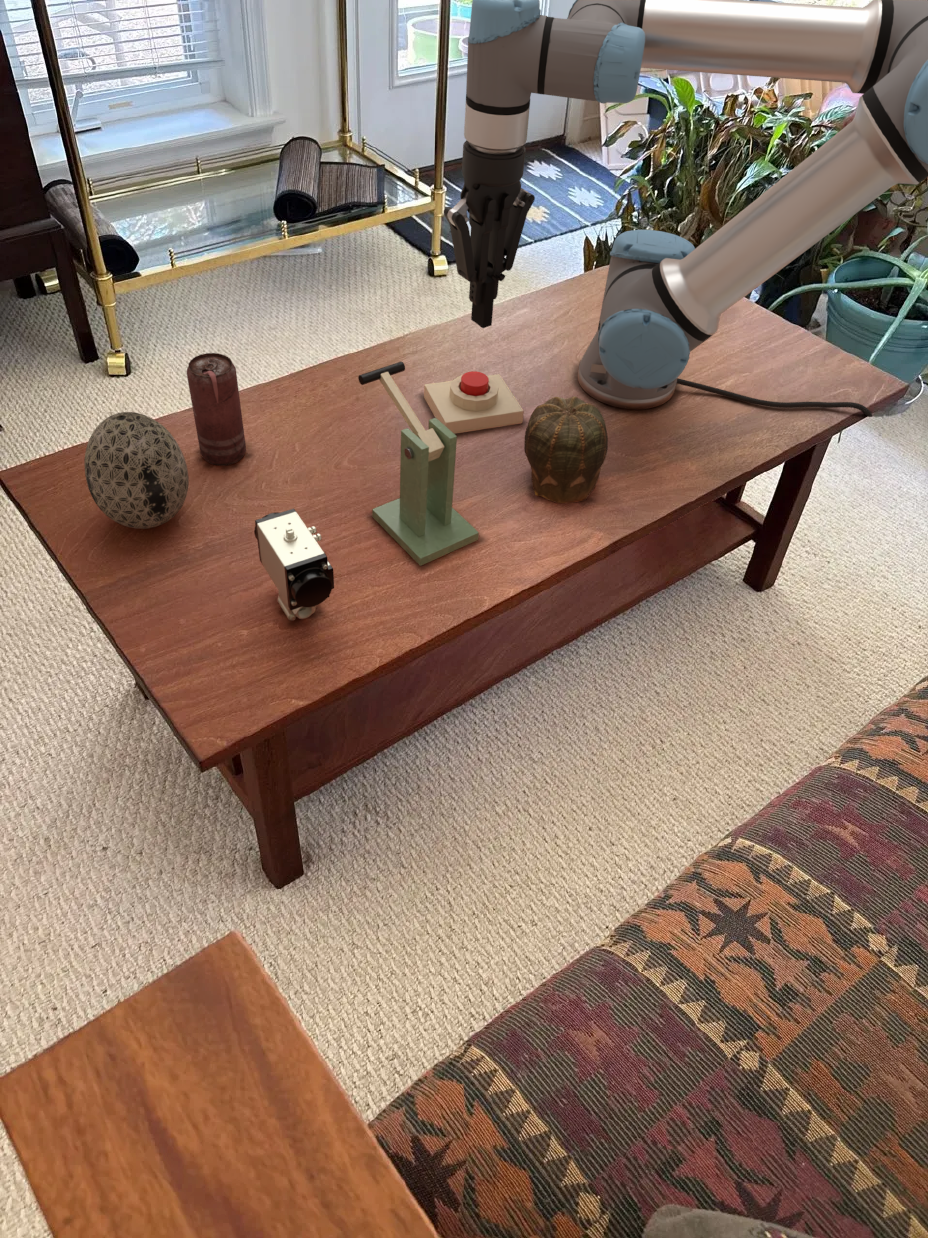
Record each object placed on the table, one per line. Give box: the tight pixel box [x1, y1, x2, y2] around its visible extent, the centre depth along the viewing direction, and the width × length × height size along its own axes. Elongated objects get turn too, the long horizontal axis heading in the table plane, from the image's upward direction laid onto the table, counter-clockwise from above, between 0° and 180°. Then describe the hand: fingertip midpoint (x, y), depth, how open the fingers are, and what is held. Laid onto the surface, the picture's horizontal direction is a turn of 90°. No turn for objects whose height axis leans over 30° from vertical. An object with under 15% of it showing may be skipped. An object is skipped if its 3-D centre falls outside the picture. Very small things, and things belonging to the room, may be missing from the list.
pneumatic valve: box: [253, 508, 335, 621], centre depth 107 cm, size 6×12×12 cm, turn 30°
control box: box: [423, 373, 525, 435], centre depth 139 cm, size 12×10×4 cm
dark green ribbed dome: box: [523, 395, 609, 504], centre depth 126 cm, size 11×11×12 cm
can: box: [186, 352, 247, 467], centre depth 125 cm, size 6×6×14 cm
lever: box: [358, 361, 444, 462], centre depth 113 cm, size 13×6×2 cm, turn 36°
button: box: [461, 370, 489, 396], centre depth 137 cm, size 4×4×2 cm
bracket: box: [371, 417, 480, 567], centre depth 116 cm, size 11×9×15 cm
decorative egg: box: [84, 411, 190, 530], centre depth 114 cm, size 12×12×15 cm
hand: (481, 322), depth 130 cm, fingers closed
